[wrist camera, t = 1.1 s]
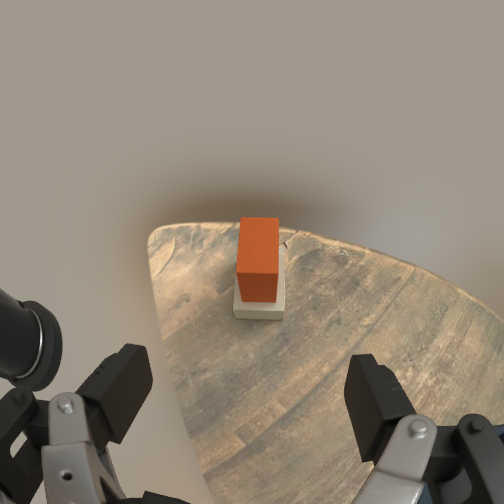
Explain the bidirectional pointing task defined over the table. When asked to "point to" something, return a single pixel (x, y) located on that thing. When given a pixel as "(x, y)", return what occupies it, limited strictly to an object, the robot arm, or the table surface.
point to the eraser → (259, 271)
